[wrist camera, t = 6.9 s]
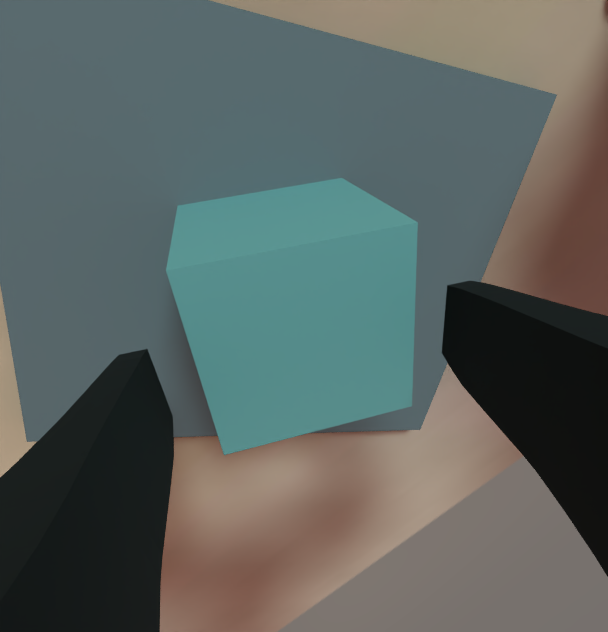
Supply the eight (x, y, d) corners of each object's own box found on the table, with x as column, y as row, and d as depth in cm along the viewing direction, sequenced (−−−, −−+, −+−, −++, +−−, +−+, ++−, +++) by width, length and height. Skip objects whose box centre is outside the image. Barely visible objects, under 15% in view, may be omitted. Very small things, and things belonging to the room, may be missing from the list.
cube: (341, 177, 12) (418, 222, 8) (350, 316, 15) (411, 406, 11) (177, 205, 12) (166, 270, 7) (216, 346, 14) (223, 455, 10)
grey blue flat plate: (538, 94, 13) (557, 94, 13) (412, 417, 19) (420, 429, 19) (-40, -60, 9) (-60, -73, 8) (34, 425, 15) (27, 441, 14)
